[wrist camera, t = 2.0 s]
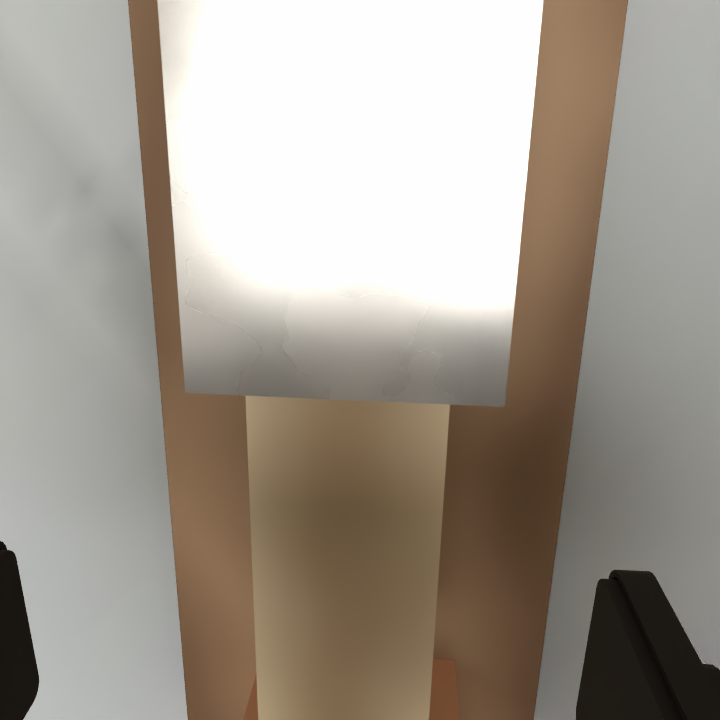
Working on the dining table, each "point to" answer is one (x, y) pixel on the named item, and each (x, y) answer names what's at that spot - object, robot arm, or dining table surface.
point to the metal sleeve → (348, 193)
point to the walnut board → (466, 422)
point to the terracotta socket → (441, 699)
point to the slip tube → (345, 555)
